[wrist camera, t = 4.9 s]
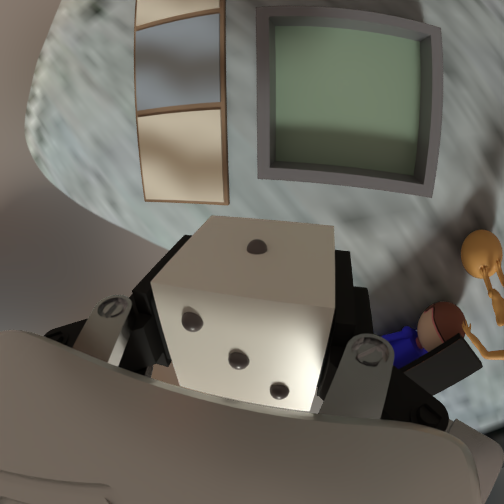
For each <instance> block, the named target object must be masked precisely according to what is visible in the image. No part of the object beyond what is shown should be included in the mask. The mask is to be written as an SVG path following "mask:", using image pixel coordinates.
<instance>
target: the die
mask: <svg viewBox="0 0 504 504" xmlns="http://www.w3.org/2000/svg"><path fill="white" fill-rule="evenodd" d="M150 283H151V287H152V291H153V295H154V299H155V303H156V307H157V311H158V315H159V318H160V322H161V326H162V329H163V333H164V336H165V340H166V343H167V346H168V350H169V353H170V356H171V359H172V363H173V366H174V369H175V372H176V375H177V378H178V381H179V384H180V386H182V387H186V388H189V389H193V390H197V391H201V392H205V393H209V394H214V395H217V396H222V397H226V398H231V399H235V400H240V401H245V402H251V403H256V404H262V405H268V406H274V407H281V408H287V409H294V410H302V411H310V408H311V404H312V400H313V397H314V394H315V390H316V386H317V383H318V379H319V375H320V371H321V367H322V363H323V359H324V355H325V351H326V347H327V342H328V338H329V334H330V329H331V324H332V320H333V315H334V310H335V244H334V226H328V225H319V224H309V223H298V222H287V221H276V220H264V219H252V218H240V217H226V216H211V217H210V218H209V219H208V220H207V221H206V222H205V223H204V224H203V225H202V226H201V227H200V228H199V229H198V230H197V231H196V232H195V233H194V235H193V236H192V237H191V238H190V239H189V240H188V241H187V242H186V243H185V244H184V245H183V246H182V247H181V249H180V250H179V251H178V252H177V253H176V254H175V255H174V256H173V257H172V258H171V259H170V261H169V262H168V263H167V264H166V265H165V266H164V267H163V268H162V269H161V271H160V272H159V273H158V274H157V275H156V276H155V277H154V278H153V280H152V281H151V282H150Z"/></svg>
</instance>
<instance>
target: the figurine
mask: <svg viewBox="0 0 504 504" xmlns="http://www.w3.org/2000/svg"><path fill="white" fill-rule="evenodd" d="M461 260H462V264H463V266H464V268H465V270H466V271H467V272H468V273H469V274H470V275H472V276H473V277H475V278H480V279H484V282H485V284H486V287H487V290H488V295H489V297H490V298H492V305H493V309H494V312H495V315H496V322H497V325H498V326H503V325H504V299H503V298H502V297H501V295H500V294H499V292H498V291H497V290H495V289H492V285H491V282H490V279H489V277H490V276H492V275H493V274H494V273H495V272H497V275H498V277H499V279H500V282H501V284H502V286H503V287H504V275H503V272H502V269H501V261H502V247H501V244H500V241H499V240H498V238H497V237H496V236H495V235H494V234H493V233H492V232H490V231H487V230H476V231H474V232H472V233H470V234H469V235H468V236H467V237H466V239H465V240H464V242H463V245H462V248H461ZM465 323H466V326H465V324H464V321H463V324H462V327H463V330H464V332H465V333H466V335H467V336H468V337H469V338H470V340H471V341H472V343H473V344H474V345H475V346H476V347H477V349H478V350H479V352H480V353H481V355H482V356H483V357H484V358H485V359H491V360H504V350H498V351H490V352H488V351H487V350H486V348H485V347H484V346H483V345H482V344H481V342H480V341H479V340H478V338H477V337H476V336H475V335H473V334H472V333H471V332H470V330H471V323H470V326H469V327H468V324H467V321H466V319H465Z"/></svg>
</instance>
